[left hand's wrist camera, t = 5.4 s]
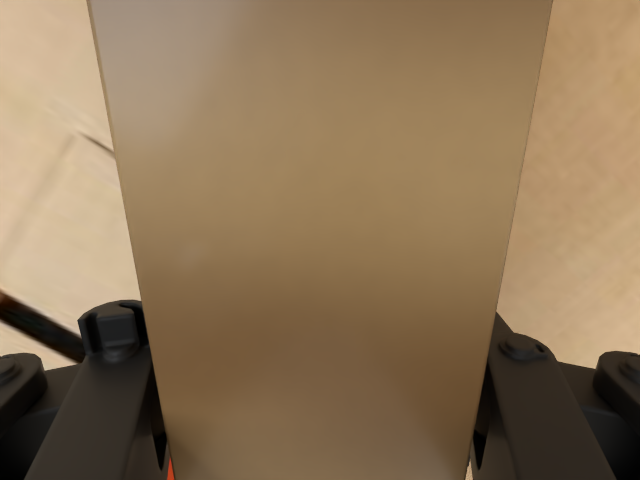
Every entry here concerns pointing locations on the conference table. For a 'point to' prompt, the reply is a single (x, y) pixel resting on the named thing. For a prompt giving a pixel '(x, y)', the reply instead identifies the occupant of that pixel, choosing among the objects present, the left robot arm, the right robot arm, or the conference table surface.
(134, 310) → the left robot arm
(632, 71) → the conference table surface
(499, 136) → the bar
